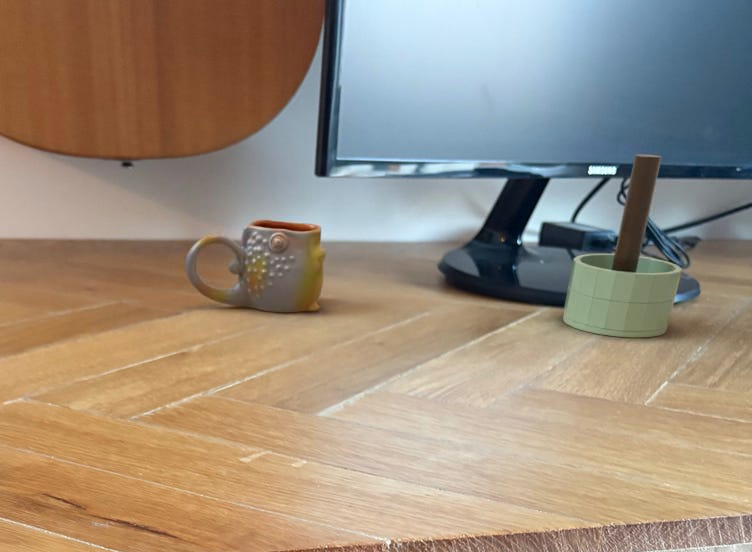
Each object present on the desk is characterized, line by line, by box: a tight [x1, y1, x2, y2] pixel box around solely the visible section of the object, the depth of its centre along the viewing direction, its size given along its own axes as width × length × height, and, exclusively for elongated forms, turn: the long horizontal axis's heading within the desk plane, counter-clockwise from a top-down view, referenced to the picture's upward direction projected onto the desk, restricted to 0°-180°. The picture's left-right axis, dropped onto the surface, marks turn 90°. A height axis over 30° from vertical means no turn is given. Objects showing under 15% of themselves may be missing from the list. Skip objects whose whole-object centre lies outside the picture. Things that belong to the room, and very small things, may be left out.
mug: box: [185, 219, 327, 313], centre depth 84 cm, size 12×7×7 cm, turn 105°
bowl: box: [562, 253, 683, 338], centre depth 84 cm, size 9×9×5 cm
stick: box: [611, 153, 662, 273], centre depth 82 cm, size 3×3×13 cm
